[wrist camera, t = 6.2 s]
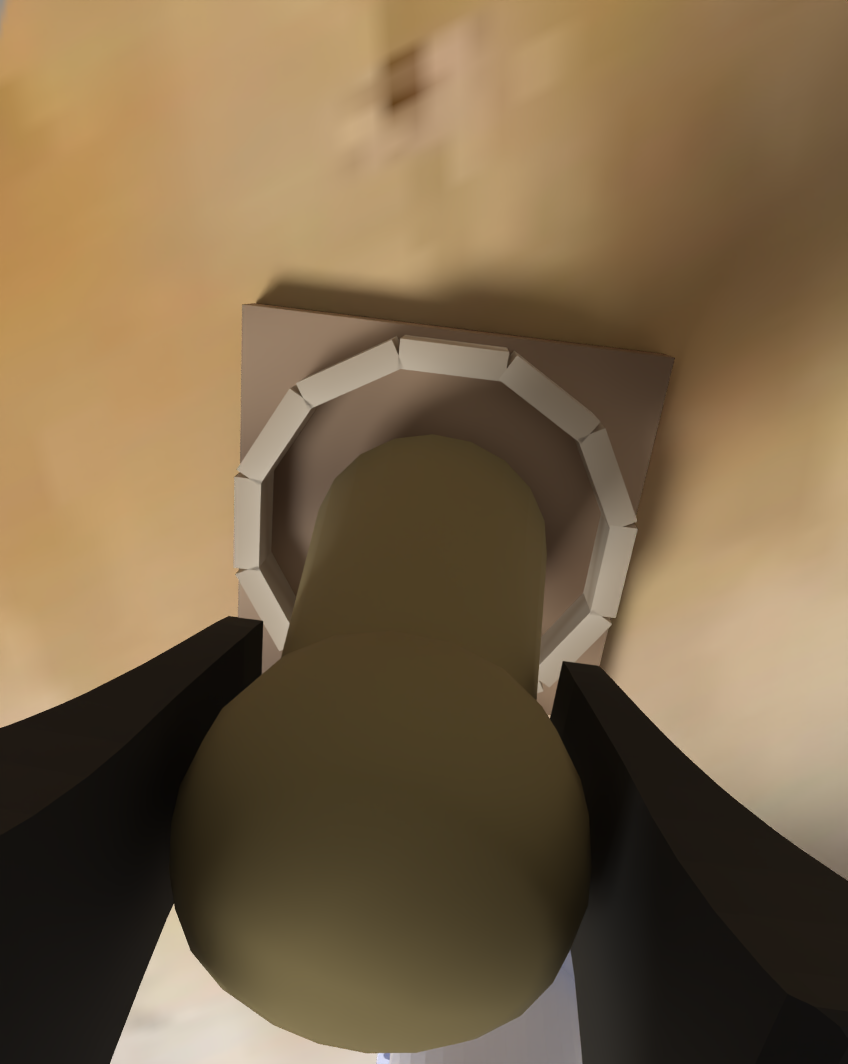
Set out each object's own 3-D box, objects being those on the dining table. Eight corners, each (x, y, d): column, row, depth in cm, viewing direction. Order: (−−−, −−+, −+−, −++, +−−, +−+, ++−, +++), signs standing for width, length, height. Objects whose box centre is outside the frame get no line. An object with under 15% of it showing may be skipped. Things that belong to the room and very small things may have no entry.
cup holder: (581, 700, 21) (592, 744, 19) (247, 655, 22) (224, 694, 19) (663, 354, 17) (689, 363, 15) (254, 303, 18) (225, 305, 16)
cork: (558, 439, 16) (714, 753, 6) (536, 655, 18) (617, 1163, 8) (309, 429, 16) (22, 708, 6) (318, 642, 18) (122, 1111, 8)
